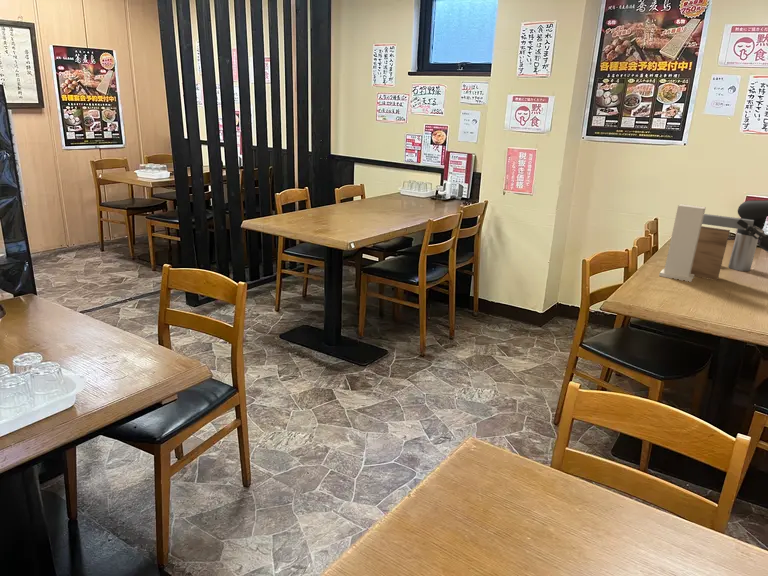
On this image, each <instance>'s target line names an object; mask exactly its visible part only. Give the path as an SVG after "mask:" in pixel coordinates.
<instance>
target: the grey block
mask: <svg viewBox="0 0 768 576" xmlns="http://www.w3.org/2000/svg"><path fill="white" fill-rule="evenodd" d="M740 219H741V217H734V216H732V217H731V216H726V215H725V216H724V215H723V216H722V215H718V214H717V215H715V214H710V213H709V214H708V213H704V217H703V222H702V225H707V226H714V227H715V226H716V227H721V228H722V227H723V228H730V229H736V230H738V229H743V230H744V228H743V227H741V226H740V225H739V224H737V222H738V221H739V220H740ZM742 220H743V221H744V222H746V223H747V224H749V225H751V226H752V227H753V223H754V220H749V219H742ZM750 230H751V229H750Z"/></svg>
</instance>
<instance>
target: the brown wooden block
mask: <svg viewBox="0 0 768 576" xmlns="http://www.w3.org/2000/svg"><path fill="white" fill-rule="evenodd" d="M730 232H731V230H730V229H726V228H718V227H716V228H715V227H710V226H703V225H702V226H701V230H700V235H699V239H698V243H697V248H696V252H695V257H694V261H693V265H692V270H691V274H694V277H696V276H698V277H697V278H701V277H703V278H702V279H707V278H708V279H709V280H712V279H713V280H714V281H718V280H719V276H720V273H721V272H720V271H721V269H722V265H723V260H724V256H725V253H726V248H727V244H728V240H729V235H730ZM713 280H712V281H713Z"/></svg>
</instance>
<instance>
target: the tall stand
mask: <svg viewBox="0 0 768 576" xmlns="http://www.w3.org/2000/svg"><path fill="white" fill-rule="evenodd" d="M705 212H706V206H699V205H692V204H683V203H680V204H679V205H677V210H676V212H675V218H674V224H673V228H672V231H671V232H672V233H671V238H670V243H669V248H668V252H667V256H666V261H665V266H664V268H662V269H661V270H660V272H659V277H663V278H668V279H672V278H674V279H673V280H677V279H679V281H683V280H685V281H684V282H688V281H689V282H690V283H692V281H693V280H692V279H694V278H695V276H694V274H691V270H692V265H693V261H694V257H695V252H696V248H697V243H698V239H699V235H700V230H701V226H703V224H702V222H703V217H704V214H706V213H705ZM689 282H688V283H689Z"/></svg>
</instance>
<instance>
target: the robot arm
mask: <svg viewBox="0 0 768 576" xmlns="http://www.w3.org/2000/svg"><path fill="white" fill-rule="evenodd" d="M737 215H738V216H739V218H741V219H740V220H739V221H738V222H737V224H739V225H740V226H741V227H743V228H744V230H743V229H736V234H735V239H734V243H733V246H732V251H731V254H730V258H729V262H728V269H732V270H735V271H740V272H741V271H743V272H750V271H751V268H752V264H753V261H754V257H755V253H756V250H757V249H756V248H757V246H758V247H759V248H761V249H763V250H764V251H765V252H767V253H768V234H766V233H765V230H763V229H764V227H765V224H766V221H767V219H768V199H766V200H759V199H758V200H757V199H755V200H746V201H744V202H742V203H740V205H739V206H738V208H737ZM742 219H749V220H754V223H753V227H752V226H751V225H749V224H747V223H746V222H744V221H743V220H742ZM750 229H751V230H750Z"/></svg>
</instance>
